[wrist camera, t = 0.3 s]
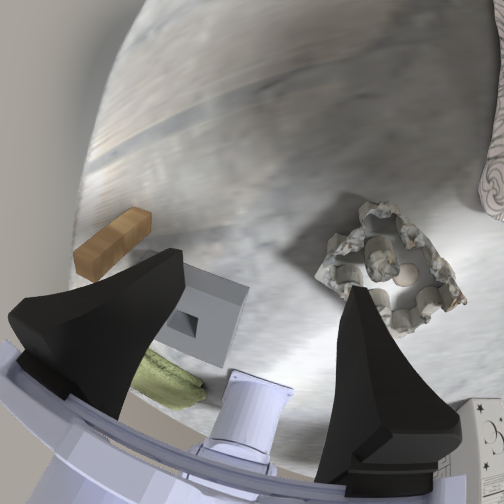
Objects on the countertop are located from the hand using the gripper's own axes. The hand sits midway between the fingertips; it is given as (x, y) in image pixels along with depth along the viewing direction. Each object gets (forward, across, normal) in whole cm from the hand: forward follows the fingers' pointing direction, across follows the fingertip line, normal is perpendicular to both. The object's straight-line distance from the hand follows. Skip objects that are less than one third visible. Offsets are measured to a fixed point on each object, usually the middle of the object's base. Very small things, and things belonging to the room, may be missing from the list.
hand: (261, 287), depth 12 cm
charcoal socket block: (+10, +9, +13) cm, 18 cm away
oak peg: (+10, +13, +4) cm, 17 cm away
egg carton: (+10, -8, +4) cm, 14 cm away
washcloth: (+11, +18, +29) cm, 36 cm away
